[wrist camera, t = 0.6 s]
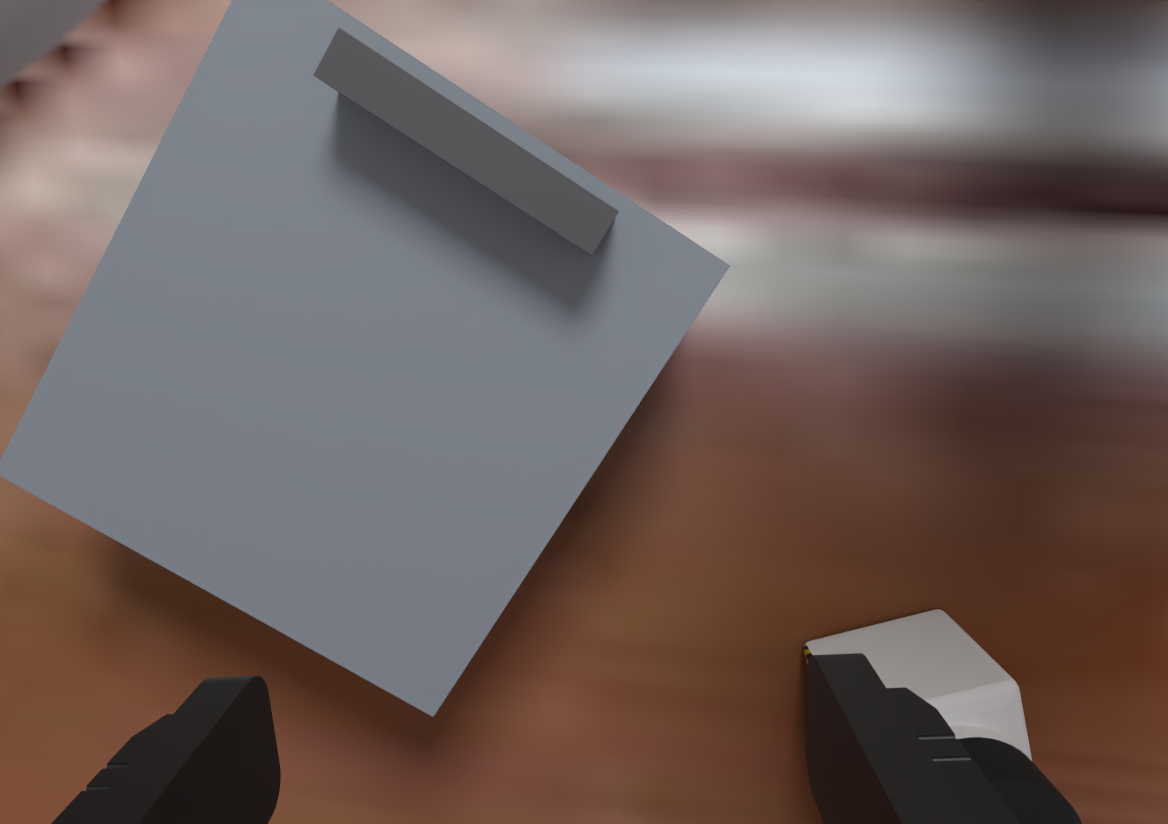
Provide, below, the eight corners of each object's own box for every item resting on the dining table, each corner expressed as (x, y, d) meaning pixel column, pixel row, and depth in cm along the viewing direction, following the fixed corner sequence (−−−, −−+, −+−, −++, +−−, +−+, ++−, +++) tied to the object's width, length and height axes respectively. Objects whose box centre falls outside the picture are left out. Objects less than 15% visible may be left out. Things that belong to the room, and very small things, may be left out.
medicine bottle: (799, 640, 39) (894, 806, 27) (941, 604, 39) (1099, 758, 27) (829, 763, 40) (931, 973, 29) (966, 730, 40) (1126, 928, 28)
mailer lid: (265, -38, 26) (220, -80, 23) (725, 265, 28) (744, 266, 25) (9, 466, 29) (-61, 492, 26) (436, 705, 31) (420, 757, 28)
